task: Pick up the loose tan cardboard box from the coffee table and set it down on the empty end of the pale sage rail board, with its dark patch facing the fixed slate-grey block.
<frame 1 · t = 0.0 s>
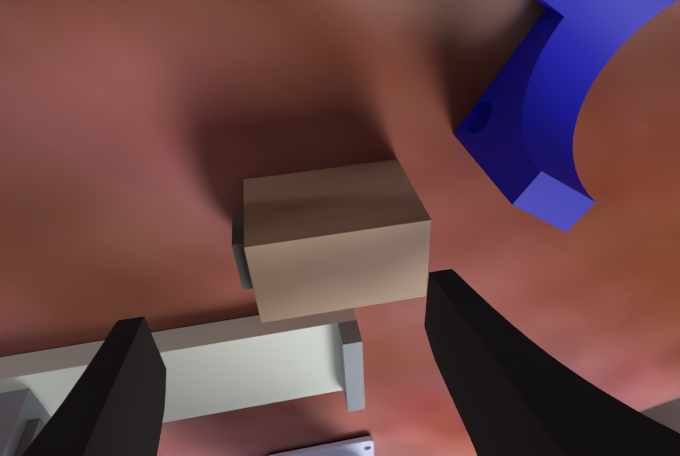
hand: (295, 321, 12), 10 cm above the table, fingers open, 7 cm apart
rail: (146, 370, 27), on the table
cable clip: (553, 16, 19), on the table
tan cardboard box: (324, 204, 23), on the table
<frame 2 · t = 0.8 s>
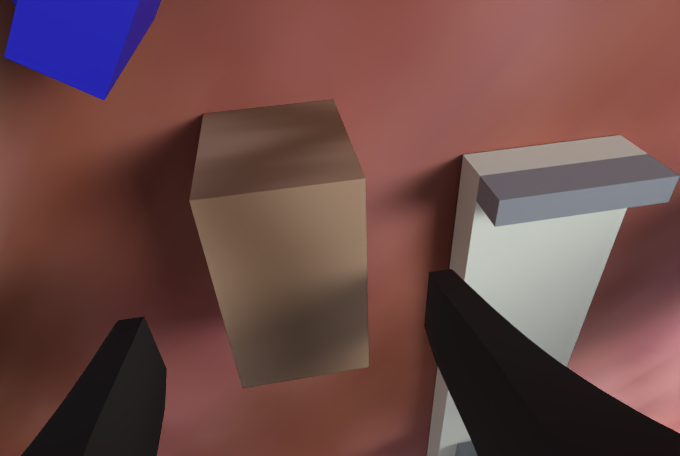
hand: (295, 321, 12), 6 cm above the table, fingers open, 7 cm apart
rail: (494, 356, 24), on the table
tan cardboard box: (282, 199, 17), on the table
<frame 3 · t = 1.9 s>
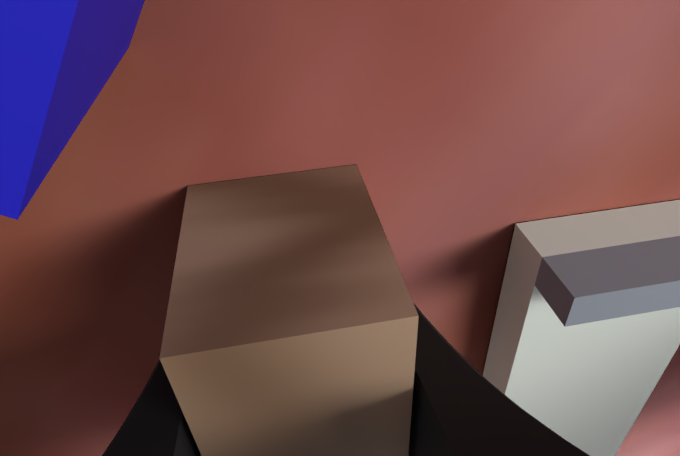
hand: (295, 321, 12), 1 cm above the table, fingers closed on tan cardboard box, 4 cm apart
rail: (532, 432, 21), on the table
tan cardboard box: (290, 282, 13), on the table, touching gripper
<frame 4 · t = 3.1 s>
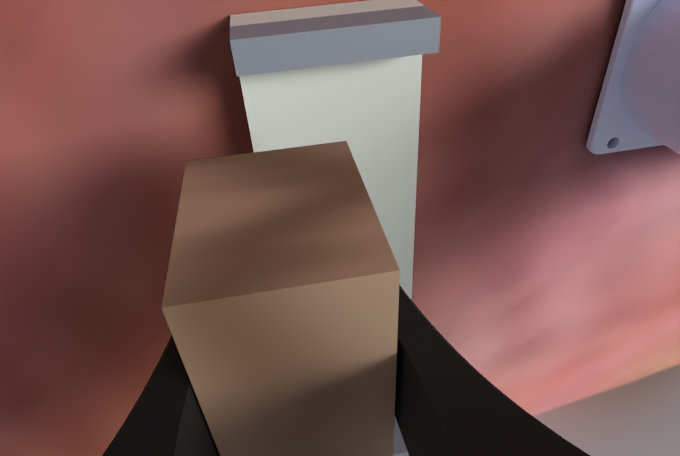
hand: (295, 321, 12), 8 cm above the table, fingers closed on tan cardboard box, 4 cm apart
rail: (342, 274, 23), on the table
tan cardboard box: (284, 256, 14), point 6 cm above the table, touching gripper
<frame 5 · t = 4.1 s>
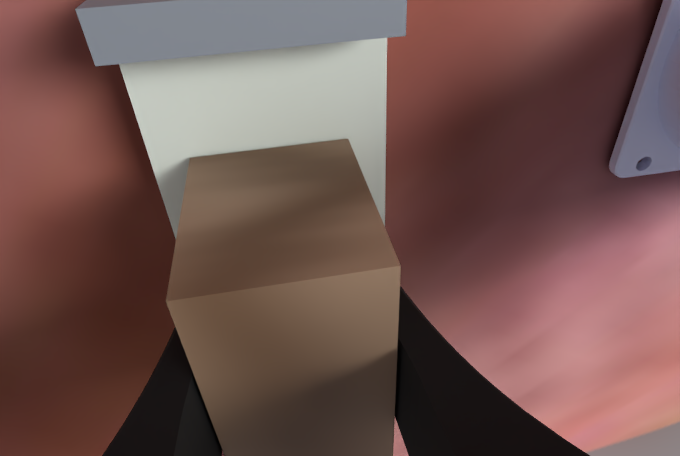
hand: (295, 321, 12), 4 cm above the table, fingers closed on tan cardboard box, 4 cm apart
rail: (297, 321, 18), on the table
tan cardboard box: (286, 253, 14), point 2 cm above the table, touching gripper
when the fingers open (4 cm above the table, at t = 4.6 s): tan cardboard box stays where it is, resting on rail.
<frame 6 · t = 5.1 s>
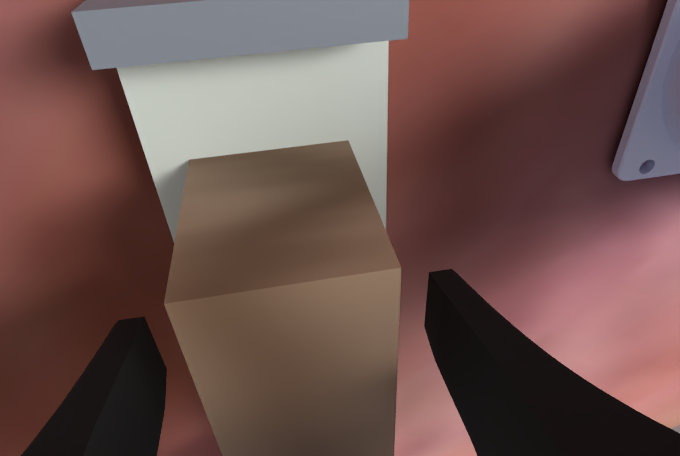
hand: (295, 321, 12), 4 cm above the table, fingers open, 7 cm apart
rail: (297, 325, 18), on the table
tan cardboard box: (286, 256, 14), point 1 cm above the table, touching rail
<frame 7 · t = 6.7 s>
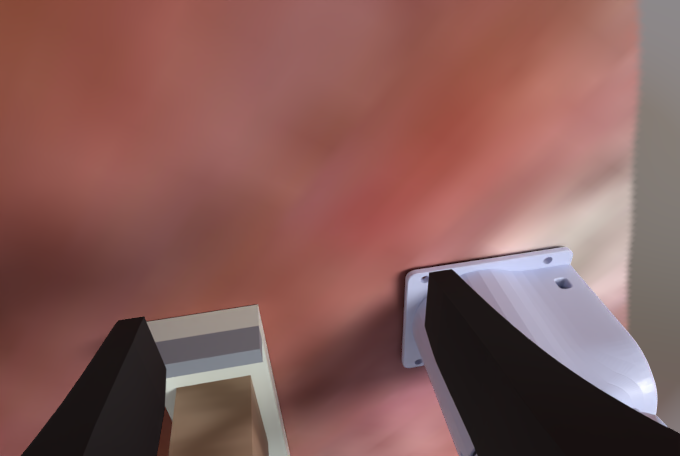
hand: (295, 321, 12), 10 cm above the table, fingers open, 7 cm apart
rail: (240, 436, 32), on the table
tan cardboard box: (226, 417, 28), point 1 cm above the table, touching rail
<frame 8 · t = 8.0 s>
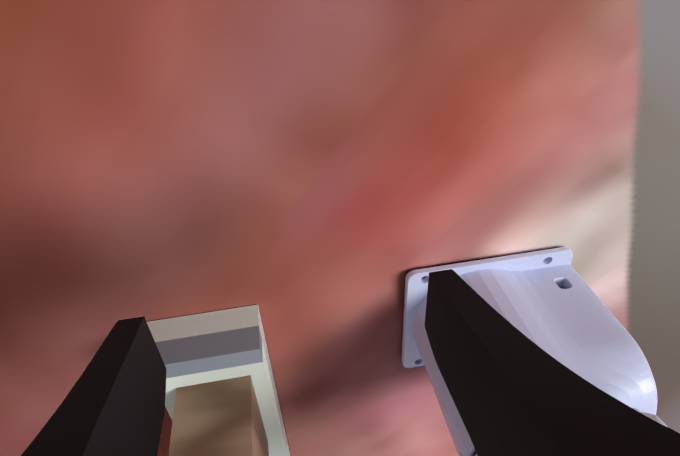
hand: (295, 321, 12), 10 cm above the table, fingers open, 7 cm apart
rail: (240, 436, 32), on the table
tan cardboard box: (226, 417, 28), point 1 cm above the table, touching rail
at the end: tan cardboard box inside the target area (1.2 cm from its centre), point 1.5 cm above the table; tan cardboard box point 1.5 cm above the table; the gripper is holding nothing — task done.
